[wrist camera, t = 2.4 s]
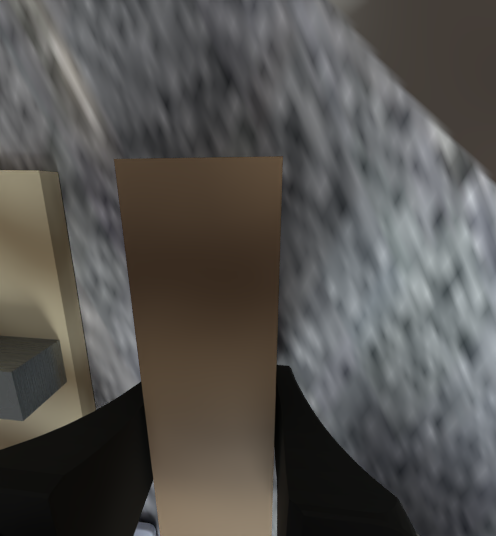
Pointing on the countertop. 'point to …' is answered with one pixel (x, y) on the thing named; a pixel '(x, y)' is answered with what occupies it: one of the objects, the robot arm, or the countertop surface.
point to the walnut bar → (206, 333)
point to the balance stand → (38, 312)
